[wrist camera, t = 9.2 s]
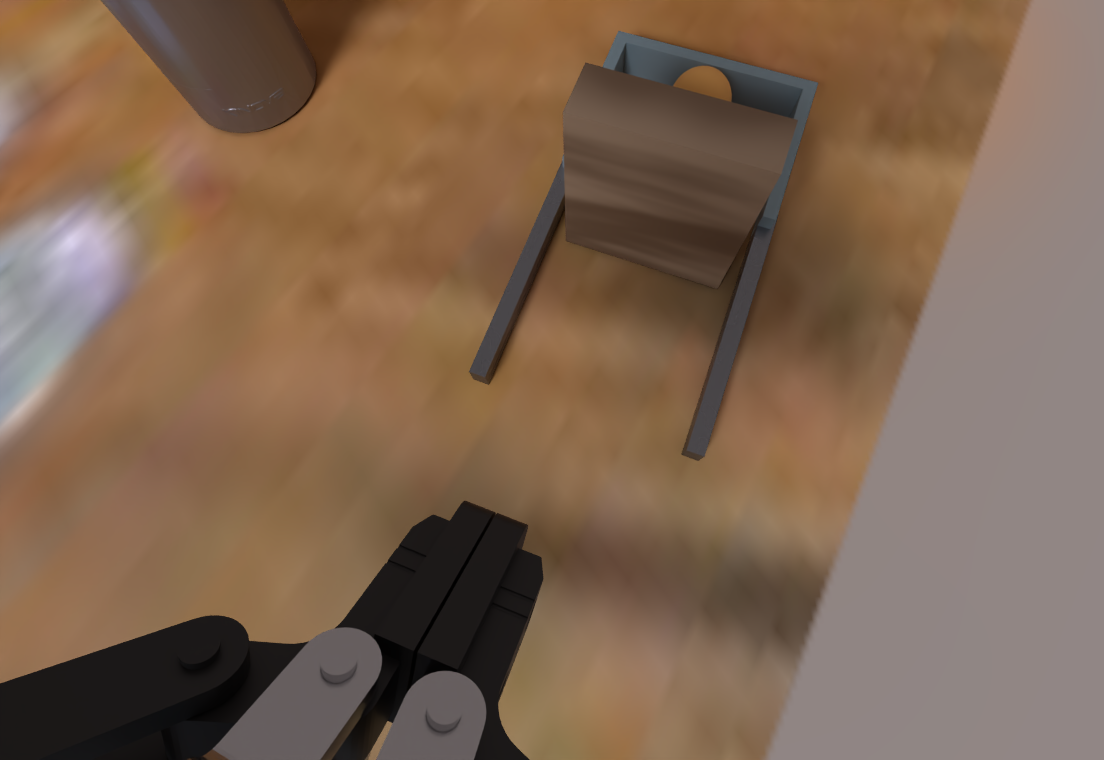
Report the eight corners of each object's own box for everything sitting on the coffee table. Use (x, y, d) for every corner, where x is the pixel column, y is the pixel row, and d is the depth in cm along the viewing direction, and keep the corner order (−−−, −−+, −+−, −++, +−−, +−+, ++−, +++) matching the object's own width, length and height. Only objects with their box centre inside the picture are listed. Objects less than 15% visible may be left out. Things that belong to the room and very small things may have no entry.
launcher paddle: (717, 288, 34) (781, 174, 24) (565, 240, 36) (562, 112, 25) (730, 248, 35) (798, 119, 25) (581, 202, 36) (585, 62, 26)
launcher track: (698, 460, 32) (704, 456, 30) (473, 379, 34) (469, 371, 32) (769, 228, 36) (778, 215, 34) (566, 167, 38) (566, 152, 36)
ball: (648, 121, 38) (668, 55, 36) (691, 133, 40) (711, 71, 38) (686, 132, 35) (710, 61, 33) (730, 144, 37) (754, 78, 35)
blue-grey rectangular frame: (762, 242, 36) (776, 220, 33) (563, 181, 37) (562, 156, 35) (802, 111, 38) (818, 82, 36) (615, 61, 40) (618, 30, 38)
